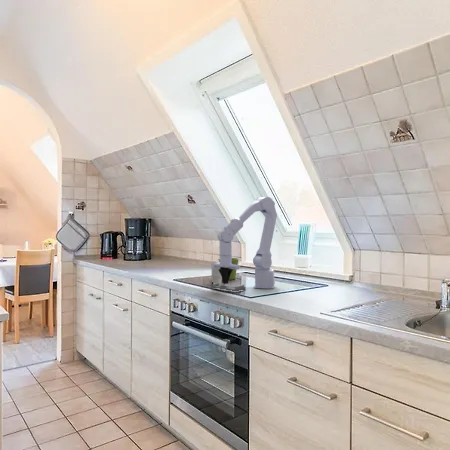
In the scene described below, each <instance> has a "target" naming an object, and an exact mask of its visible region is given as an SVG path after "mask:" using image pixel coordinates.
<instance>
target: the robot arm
mask: <svg viewBox="0 0 450 450" xmlns="http://www.w3.org/2000/svg"><path fill="white" fill-rule="evenodd" d="M256 212H261V213H262V214H263V216H264V223H263V228H262V233H261V236H260V237H261V238H260V243H259V247H258V249H257V251H256V252H255V255H254V257H253V260H252V264H253V265H254V280H255V281H254V286H253V287H252V288H253V289H274V287H275V269H271V267H272V265H273V261H272V252H271V246H272V242H273V238H274V237H273V235H274V231H275V227H276V223H277V222H276V221H277V217H278V216H277V215H278V214H277V211H276V203H275V201H274V199H273V198H271V197H270V196H264V197H261V196H260V197H257V198H255V200H253V201H252V202H251V203H250V204H249V205H248V207H247V208H246V209H245V210H244V211H243V213H242V214H240V215H239V216H238V218H237V217H234V218H231V220H230V222H229V223H228V224H227V225H226V226H224V227H223V229H221V230H220V231H219V232H218V235H217V240H219V247H218V248H219V250H218V251H219V259H220V263H218V262H214V263H212V264H213V267H214V268H215V267H216V268H220V269H219V272H220V274H221V276H222V280H223V283H224V284H226V285H229V281H230V280H229V277H230V275H231V273H232V271H233V269H235V270H237V271H238V270H240V265H239V264H237V265H234V264H232V258H233V257H232V241H233V239H234V236H235V235H236V234H238V233H239V232H240V230H241V229H242V228H244V223H245V222H246V221H247V220H248V219H250V217H251V216H253V214H254V213H256Z"/></svg>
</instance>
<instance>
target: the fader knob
mask: <svg viewBox="0 0 450 450" xmlns="http://www.w3.org/2000/svg"><path fill="white" fill-rule="evenodd" d="M225 285H227V284H224V283H223V280H222V278H219V279H218V286H225Z"/></svg>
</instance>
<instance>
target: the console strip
mask: <svg viewBox="0 0 450 450" xmlns="http://www.w3.org/2000/svg"><path fill="white" fill-rule="evenodd" d="M212 288H220V289H226V290H232V291H239V290H245V291H247V289H246V286H245V284H239V285H231V284H226V285H225V286H218V283H215V284H212V286H211V289H212Z"/></svg>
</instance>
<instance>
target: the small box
mask: <svg viewBox="0 0 450 450" xmlns="http://www.w3.org/2000/svg"><path fill="white" fill-rule="evenodd" d="M217 263H220V262H219V261H218V262H217ZM219 269H220V268H216V267H215V268H214V267H213V263H211V283H212V282H213V283H218V279H219V278H222V276H221V274H220V272H219Z"/></svg>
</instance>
